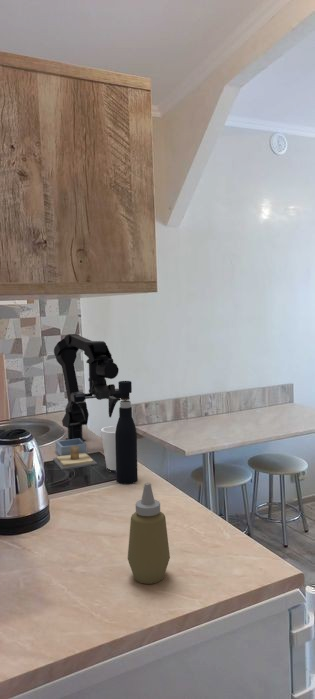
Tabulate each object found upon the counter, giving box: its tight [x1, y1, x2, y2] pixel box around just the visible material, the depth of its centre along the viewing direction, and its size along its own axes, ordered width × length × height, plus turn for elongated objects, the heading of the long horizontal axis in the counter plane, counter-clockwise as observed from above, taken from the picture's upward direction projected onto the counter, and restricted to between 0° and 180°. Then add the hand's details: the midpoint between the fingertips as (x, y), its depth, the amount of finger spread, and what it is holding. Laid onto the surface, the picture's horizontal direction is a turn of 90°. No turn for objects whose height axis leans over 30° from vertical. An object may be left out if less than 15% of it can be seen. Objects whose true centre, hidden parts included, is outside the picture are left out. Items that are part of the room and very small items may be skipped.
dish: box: [55, 438, 88, 456], centre depth 173 cm, size 9×9×4 cm
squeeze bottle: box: [127, 482, 171, 585], centre depth 91 cm, size 8×8×18 cm
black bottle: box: [115, 380, 139, 485], centre depth 143 cm, size 6×6×30 cm
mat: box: [53, 453, 98, 471], centre depth 162 cm, size 12×12×1 cm
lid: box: [56, 446, 94, 467], centre depth 162 cm, size 10×10×5 cm
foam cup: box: [100, 425, 117, 470], centre depth 155 cm, size 10×9×13 cm
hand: (98, 418), depth 175 cm, fingers open, 9 cm apart
